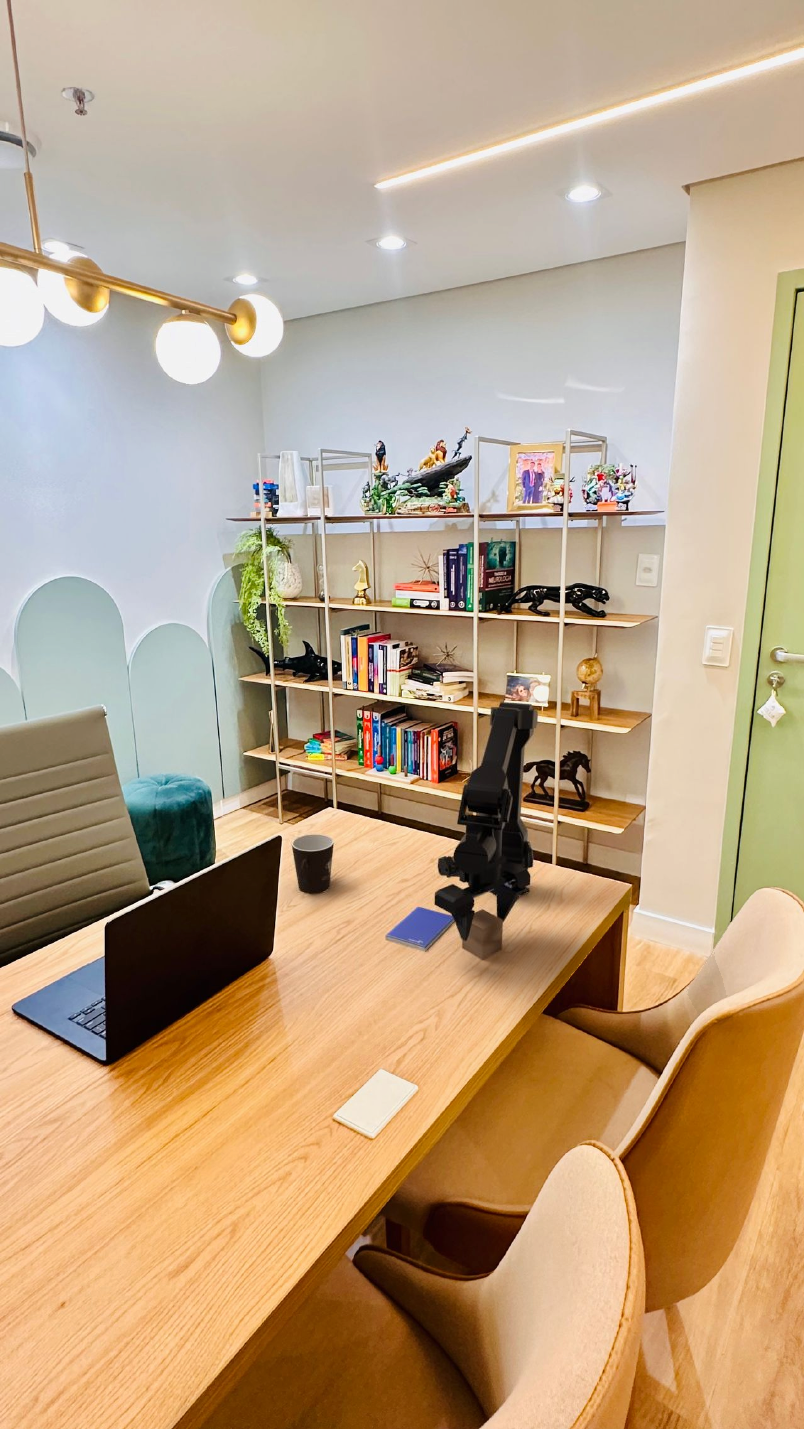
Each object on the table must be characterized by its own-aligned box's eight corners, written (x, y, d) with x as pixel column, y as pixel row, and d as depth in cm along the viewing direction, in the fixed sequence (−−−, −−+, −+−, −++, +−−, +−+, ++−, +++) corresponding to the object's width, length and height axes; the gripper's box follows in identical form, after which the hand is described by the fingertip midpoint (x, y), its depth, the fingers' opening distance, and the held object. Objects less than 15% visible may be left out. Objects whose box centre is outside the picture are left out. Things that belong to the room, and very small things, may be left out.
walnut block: (481, 938, 142) (482, 909, 140) (501, 950, 138) (502, 919, 137) (462, 948, 139) (462, 917, 137) (482, 960, 135) (483, 929, 134)
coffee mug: (312, 873, 168) (311, 830, 165) (343, 884, 163) (342, 840, 160) (274, 894, 158) (272, 849, 156) (305, 906, 154) (303, 859, 151)
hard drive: (425, 946, 137) (454, 916, 148) (385, 934, 141) (417, 905, 152) (424, 954, 138) (454, 923, 148) (385, 942, 142) (416, 913, 152)
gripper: (488, 822, 146) (486, 898, 150) (413, 849, 134) (413, 930, 138) (534, 841, 137) (530, 920, 141) (458, 871, 126) (456, 956, 130)
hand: (482, 930), depth 138 cm, fingers open, 9 cm apart
